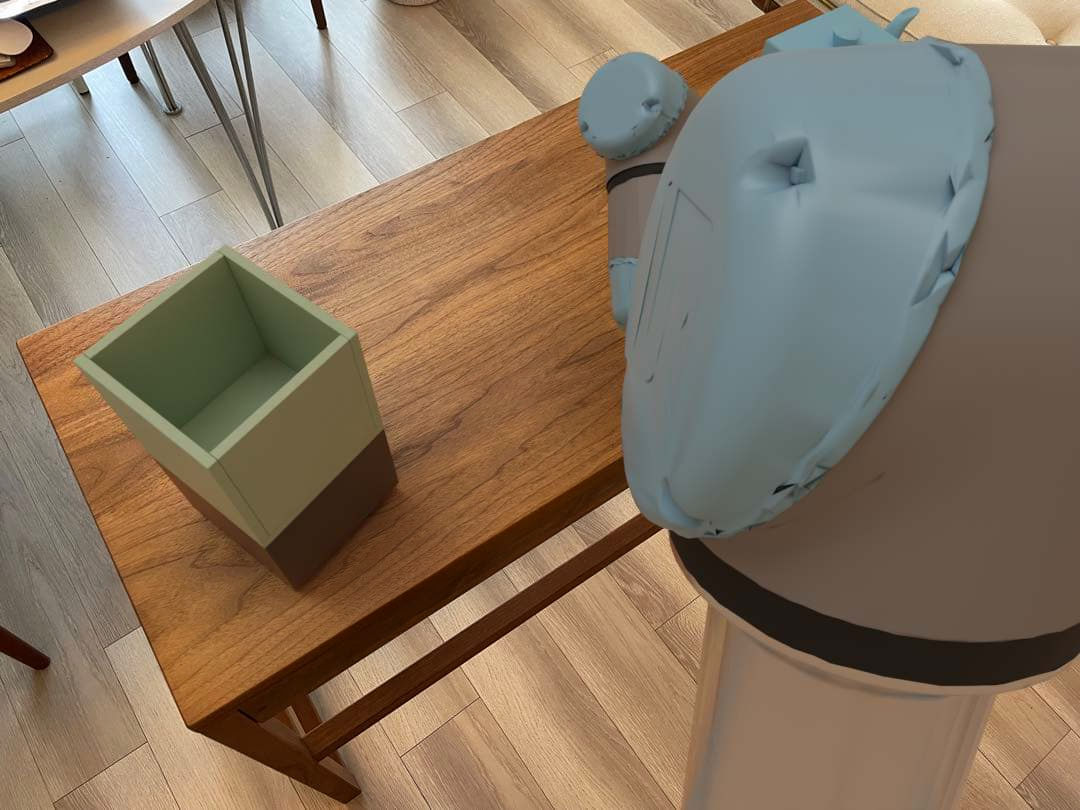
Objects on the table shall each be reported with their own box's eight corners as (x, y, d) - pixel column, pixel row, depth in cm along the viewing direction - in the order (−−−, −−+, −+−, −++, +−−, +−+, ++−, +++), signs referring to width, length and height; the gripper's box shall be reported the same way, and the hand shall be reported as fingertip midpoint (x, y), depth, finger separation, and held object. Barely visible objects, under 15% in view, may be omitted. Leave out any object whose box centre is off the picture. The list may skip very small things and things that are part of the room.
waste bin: (296, 592, 68) (207, 469, 48) (193, 506, 71) (71, 360, 52) (399, 482, 73) (357, 332, 54) (298, 408, 77) (225, 243, 57)
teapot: (786, 185, 95) (825, 85, 83) (724, 132, 100) (752, 30, 88) (910, 119, 102) (962, 18, 90) (847, 73, 107) (888, -29, 95)
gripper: (616, 124, 74) (720, 198, 92) (753, 295, 64) (841, 343, 81) (674, 58, 71) (770, 149, 88) (829, 228, 61) (903, 292, 78)
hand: (804, 242), depth 85 cm, fingers open, 10 cm apart
